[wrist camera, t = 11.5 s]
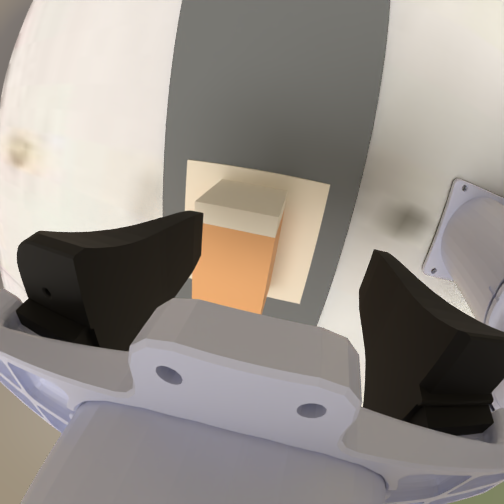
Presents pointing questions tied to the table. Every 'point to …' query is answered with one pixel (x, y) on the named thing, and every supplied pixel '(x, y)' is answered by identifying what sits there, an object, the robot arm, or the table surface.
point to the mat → (278, 107)
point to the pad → (293, 224)
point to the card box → (238, 244)
